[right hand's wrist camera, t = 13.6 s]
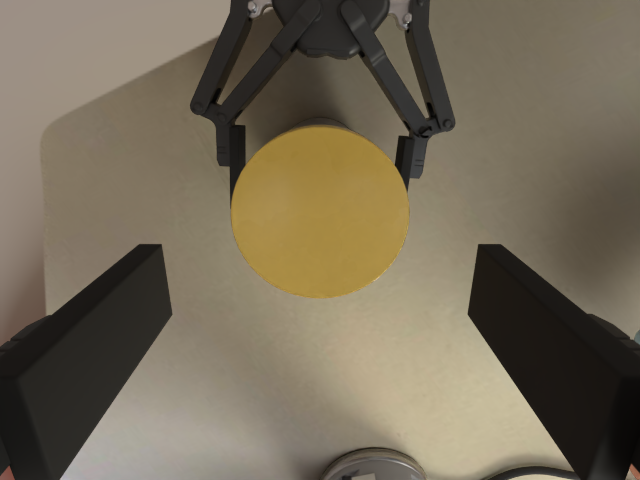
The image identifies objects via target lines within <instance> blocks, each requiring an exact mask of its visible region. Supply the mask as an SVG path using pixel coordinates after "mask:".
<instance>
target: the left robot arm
mask: <svg viewBox="0 0 640 480" xmlns="http://www.w3.org/2000/svg"><path fill="white" fill-rule="evenodd" d="M429 2H430V0H231V7H230V14H229V16H228V18H227V20H226V23H225V25H224V27H223V30H222V32H221V34H220V36H219V39H218V41H217V43H216V46H215V48H214V50H213V53H212V55H211V57H210V59H209V62H208V64H207V66H206V69H205V71H204V73H203V75H202V78H201V80H200V82H199V85H198V87H197V89H196V91H195V94H194V96H193V98H192V101H191V103H190V109H191V111H192V112H193V113H194V114H196V115H201V116H203V117H205V118H208V119H210V120H211V121H212V122H213V123H214V124H215V126H216V142H217V161H218V163H219V165H220V166H229V167H230V206H231V202H232V196H233V192H234V188H235V185H236V182H237V180H238V178H239V176H240V174H241V172H242V170H243V169H244V167H245V166H246V164H245V125H235V122H236V119H237V118H238V117H239V116H240V114H241V113H242V112H243V111H244V110H245V109H246V107H247V106H248V105H249V104H250V103H251V101H252V100H253V99H254V98H255V97H256V96H257V94H258V93H259V92H260V91H261V90H262V88H263V87H264V86H265V85H266V84H267V83H268V81H269V80H270V79H271V78H272V77H273V75H274V74H275V73H276V72H277V71H278V70H279V68H280V67H281V66H282V65H283V64H284V63H285V62H286V61H287V60H288V59H289V58H290V57H291V55H292V54H293V53H294V52H295V51H296V50H297V49H298V50H299V51H300V52H301V53H302V54H304V55H306V56H307V57H313V58H318V57H323V56H330V57H333V58H335V59H341V60H347V59H349V58H352V57H354V56H355V55H357V54H358V55H359V56H360V58H361V59H362V61H363V62H364V64H365V65H366V66H367V67H368V69H369V70H370V72H371V73H372V75H373V76H374V78H375V79H376V81H377V83H378V84H379V86H380V87H381V89H382V90H383V92H384V94H385V95H386V97H387V98H388V100H389V101H390V103H391V105H392V106H393V108H394V109H395V111H396V112H397V114H398V115H399V117H400V119H401V120H402V122H403V123H404V125H405V126H406V128H407V130H408V131H409V137H408V136H399V137H398V145H397V153H396V160H395V167H396V168H397V170H398V172H399V173H400V175H401V177H402V179H403V182H404V185H405V187H406V191H408V185H409V178H418V179H419V178H420V176H421V174H422V172H423V165H424V159H425V153H426V147H427V142H428V140H429V138H430V137H431V136H432V135H434V134H438V133H441V132H444V131H446V132H447V131H450V130H452V129H453V128H454V126H455V118H454V115H453V111H452V108H451V104H450V101H449V97H448V94H447V90H446V87H445V83H444V80H443V76H442V73H441V69H440V66H439V62H438V59H437V55H436V52H435V48H434V45H433V41H432V38H431V34H430V31H429V27H428V25H429ZM267 7H273V9H274V10H275V12H276V14H277V16H278V18H279V19H280V21H281V23H282V24H283V26H284V28H283V29H282V30H281V31H280V32H279V34H278V35H277V36H276V37H275V38H274V40H273V41H272V42H271V44H270V46H269V48H268V49H267V50H266V51H265V53H264V54H263V55H262V56H261V57H260V59H259V60H258V61H257V62H256V63H255V65H254V66H253V67H252V68H251V70H250V71H249V72H248V73H247V74H246V76H245V77H244V78H243V79H242V80H241V82H240V83H239V84H238V85H237V87H236V88H235V89H234V90H233V91H232V93H231V94H230V95H229V96H228V97H227V99H226V100H225V101H224V102H223V104H222V105H220V104H218V103H217V101H218V99H219V97H220V95H221V93H222V91H223V88H224V86H225V84H226V82H227V80H228V77H229V75H230V73H231V71H232V69H233V67H234V64H235V62H236V60H237V58H238V56H239V54H240V51H241V49H242V47H243V45H244V43H245V40H246V38H247V36H248V34H249V31H250V29H251V25H252V21H253V20H258V19H260V18H261V16H262V14H263V12H264V10H265V9H266V8H267ZM387 15H388V16H392V17H393V18H394V19H395V21H396V25H397V28H398V29H399V30H401V31H405V38H406V43H407V47H408V50H409V53H410V56H411V60H412V63H413V66H414V69H415V73H416V76H417V79H418V82H419V86H420V89H421V92H422V96H423V99H424V102H425V105H426V109H427V112H428V115H429V118H426V119H425V117H424V116H423V114H422V113H421V111H420V109H419V108H418V106H417V104H416V103H415V101H414V100H413V98H412V96H411V95H410V93H409V91H408V90H407V88H406V87H405V85H404V83H403V82H402V80H401V79H400V77H399V75H398V74H397V72H396V70H395V69H394V67H393V66H392V64H391V62H390V61H389V59H388V57H387V56H386V53H385V51H384V49H383V47H382V45H381V44H380V42H379V40H378V39H377V37H376V35H375V34H374V32H375V31H376V30H377V29H378V27H379V26H380V25H381V23H382V22H383V21H384V20H385V18H386V17H387ZM634 341H635V342H637V343H638V344H639V345H640V330H639V331H638V332H637V333H636V335H635V338H634Z"/></svg>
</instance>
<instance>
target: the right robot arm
mask: <svg viewBox="0 0 640 480" xmlns="http://www.w3.org/2000/svg"><path fill="white" fill-rule="evenodd" d="M171 316H172V309H171V302H170V296H169V289H168V283H167V276H166V270H165V263H164V257H163V250H162V244H139V245H138V246H136V247H135V248H134V249H133V250H131V251H130V252H129V253H128V254H127V255H125V256H124V257H123V258H122V259H120V260H119V261H118V262H117V263H115V264H114V265H113V266H112V267H110V268H109V269H108V270H107V271H106V272H104V273H103V274H102V275H101V276H99V277H98V278H97V279H96V280H94V281H93V282H92V283H91V284H89V285H88V286H87V287H86V288H84V289H83V290H82V291H81V292H80V293H78V294H77V295H76V296H75V297H73V298H72V299H71V300H70V301H68V302H67V303H66V304H65V305H63V306H62V307H61V308H60V309H58V310H57V311H56V312H55V313H54V314H52V315H48V316H46V317H44V318H42V319H40V320H38V321H36V322H34V323H32V324H30V325H28V326H26V327H25V328H24V329H22V330H21V331H20V332H19V333H17V334H16V335H15V336H13V337H12V338H11V340H10V341H7V342H6V343H4V344H3V345H2V346H1V347H0V475H1V474H2V473H3V472H4V471H5V470H6V468H7V467H8V466H10V468H11V471H12V473H13V476H14V478H15V480H60V478H61V477H62V475H63V474H64V472H65V471H66V470H67V468H68V467H69V465H70V464H71V462H72V461H73V459H74V458H75V456H76V455H77V453H78V452H79V450H80V449H81V448H82V446H83V445H84V443H85V442H86V440H87V439H88V437H89V436H90V434H91V433H92V431H93V430H94V428H95V427H96V426H97V424H98V423H99V421H100V420H101V418H102V417H103V415H104V414H105V412H106V411H107V409H108V408H109V407H110V405H111V404H112V402H113V401H114V399H115V398H116V396H117V395H118V393H119V392H120V390H121V389H122V387H123V386H124V385H125V383H126V382H127V380H128V379H129V377H130V376H131V374H132V373H133V371H134V370H135V368H136V367H137V366H138V364H139V363H140V361H141V360H142V358H143V357H144V355H145V354H146V352H147V351H148V349H149V348H150V346H151V345H152V344H153V342H154V341H155V339H156V338H157V336H158V335H159V333H160V332H161V330H162V329H163V327H164V326H165V324H166V323H167V322H168V320H169V319H170V317H171ZM468 316H469V317H470V319H471V320H472V322H473V323H474V324H475V326H476V327H477V329H478V330H479V332H480V333H481V335H482V336H483V338H484V339H485V341H486V342H487V344H488V345H489V346H490V348H491V349H492V351H493V352H494V354H495V355H496V357H497V358H498V360H499V361H500V363H501V364H502V366H503V367H504V368H505V370H506V371H507V373H508V374H509V376H510V377H511V379H512V380H513V382H514V383H515V385H516V386H517V387H518V389H519V390H520V392H521V393H522V395H523V396H524V398H525V399H526V401H527V402H528V404H529V405H530V407H531V408H532V409H533V411H534V412H535V414H536V415H537V417H538V418H539V420H540V421H541V423H542V424H543V426H544V427H545V429H546V430H547V431H548V433H549V434H550V436H551V437H552V439H553V440H554V442H555V443H556V445H557V446H558V448H559V449H560V450H561V452H562V453H563V455H564V456H565V458H566V459H567V461H568V462H569V464H570V465H571V467H572V468H573V470H574V471H575V472H572V471H566V470H561V469H556V468H551V467H543V466H529V467H521V468H516V469H512V470H508V471H506V472H503V473H501V474H498V475H496V476H494V477H492V478H490V479H488V480H508V479H511V478H514V477H518V476H523V475H531V474H543V475H551V476H557V477H562V478H567V479H572V480H625V479H626V476H627V473H628V471H629V468H630V466H631V464H632V465H633V466H634V467H635V469H636V470H637V471H638V472H639V473H640V345H639V344H638V343H637V342H635V341H634V340H630V337H629V336H628V335H626V334H625V333H624V332H622V331H621V330H620V329H618V328H617V327H616V326H615V325H613V324H611V323H609V322H607V321H605V320H603V319H601V318H599V317H597V316H595V315H593V314H586V313H585V312H584V311H583V310H582V309H580V308H579V307H578V306H577V305H575V304H574V303H573V302H572V301H570V300H569V299H568V298H567V297H565V296H564V295H563V294H562V293H560V292H559V291H558V290H557V289H556V288H554V287H553V286H552V285H551V284H549V283H548V282H547V281H546V280H544V279H543V278H542V277H541V276H539V275H538V274H537V273H536V272H534V271H533V270H532V269H531V268H530V267H528V266H527V265H526V264H525V263H523V262H522V261H521V260H520V259H518V258H517V257H516V256H515V255H513V254H512V253H511V252H510V251H509V250H507V249H506V248H505V247H504V246H502V245H501V244H478V250H477V257H476V263H475V270H474V276H473V283H472V289H471V296H470V302H469V309H468ZM321 480H427V477H426V475H425V472H424V471H423V469H422V468H421V466H420V465H419V464H418V463H417V462H416V461H414V460H413V459H412V458H410V457H408V456H406V455H405V454H402V453H400V452H396V451H393V450H388V449H364V450H359V451H355V452H352V453H349V454H347V455H344V456H342V457H341V458H339V459H337V460H336V461H335V462H333V463H332V464H331V465H330V466H329V467H328V468H327V469H326V470H325V472H324V473H323V475H322V477H321Z"/></svg>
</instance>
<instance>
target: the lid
mask: <svg viewBox="0 0 640 480" xmlns="http://www.w3.org/2000/svg"><path fill="white" fill-rule="evenodd" d="M231 223H232V229H233V233H234V237H235V240H236V242H237V245H238V248H239V249H240V251H241V253H242V255H243V257H244V258H245V260H246V261H247V262H248V264H249V265H250V266H251V267H252V268H253V269H254V271H255V272H256V273H257V274H258V275H260V276H261V277H262V278H263V279H264V280H266V281H267V282H269V283H270V284H272V285H273V286H275V287H277V288H279V289H281V290H283V291H285V292H288V293H291V294H294V295H298V296H302V297H309V298H331V297H338V296H342V295H346V294H349V293H352V292H355V291H357V290H359V289H361V288H363V287H365V286H367V285H369V284H370V283H372V282H373V281H374V280H376V279H377V278H378V277H379V276H381V275H382V274H383V273H384V272H385V271H386V270H387V269H388V267H389V266H390V265H391V264H392V263H393V261H394V260H395V258H396V257H397V255H398V254H399V252H400V250H401V248H402V246H403V243H404V240H405V237H406V234H407V230H408V225H409V200H408V195H407V191H406V187H405V185H404V182H403V179H402V177H401V175H400V173H399V172H398V170H397V168H396V167H395V165H394V164H393V162H392V161H391V160H390V158H389V157H388V156H387V155H386V154H385V153H384V152H383V151H382V150H381V149H380V148H378V147H377V146H376V145H375V144H373V143H372V142H371V141H370V140H368V139H367V138H365V137H363V136H362V135H360V134H358V133H356V132H353V131H351V130H348V129H345V128H341V127H338V126H331V125H309V126H303V127H298V128H295V129H292V130H289V131H287V132H285V133H282V134H280V135H278V136H277V137H275V138H274V139H272V140H271V141H269V142H268V143H267V144H266V145H264V146H263V147H262V148H261V149H260V150H259V151H257V152H256V153H255V154H254V156H253V157H252V158H251V159H250V160H249V161H248V163H247V164H246V166H245V167H244V169H243V170H242V172H241V174H240V176H239V178H238V180H237V182H236V185H235V188H234V192H233V196H232V202H231Z"/></svg>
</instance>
